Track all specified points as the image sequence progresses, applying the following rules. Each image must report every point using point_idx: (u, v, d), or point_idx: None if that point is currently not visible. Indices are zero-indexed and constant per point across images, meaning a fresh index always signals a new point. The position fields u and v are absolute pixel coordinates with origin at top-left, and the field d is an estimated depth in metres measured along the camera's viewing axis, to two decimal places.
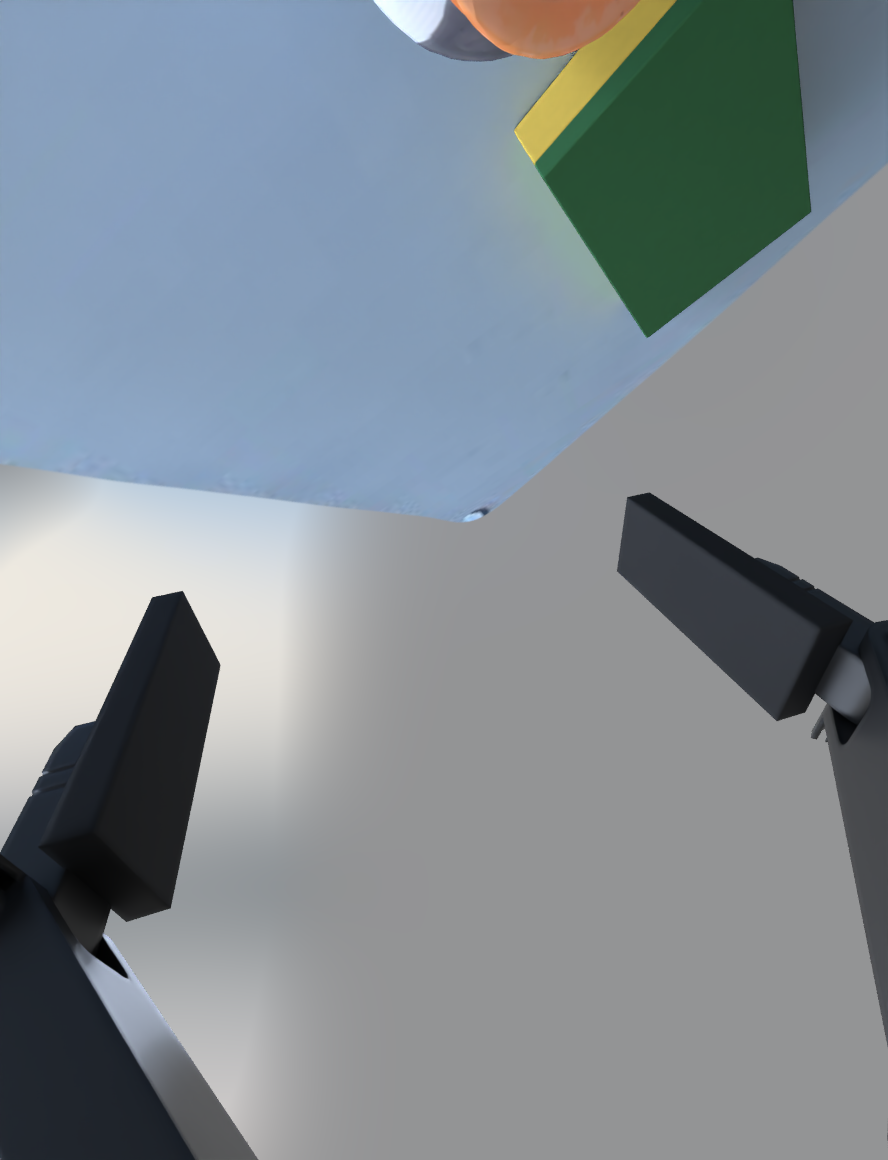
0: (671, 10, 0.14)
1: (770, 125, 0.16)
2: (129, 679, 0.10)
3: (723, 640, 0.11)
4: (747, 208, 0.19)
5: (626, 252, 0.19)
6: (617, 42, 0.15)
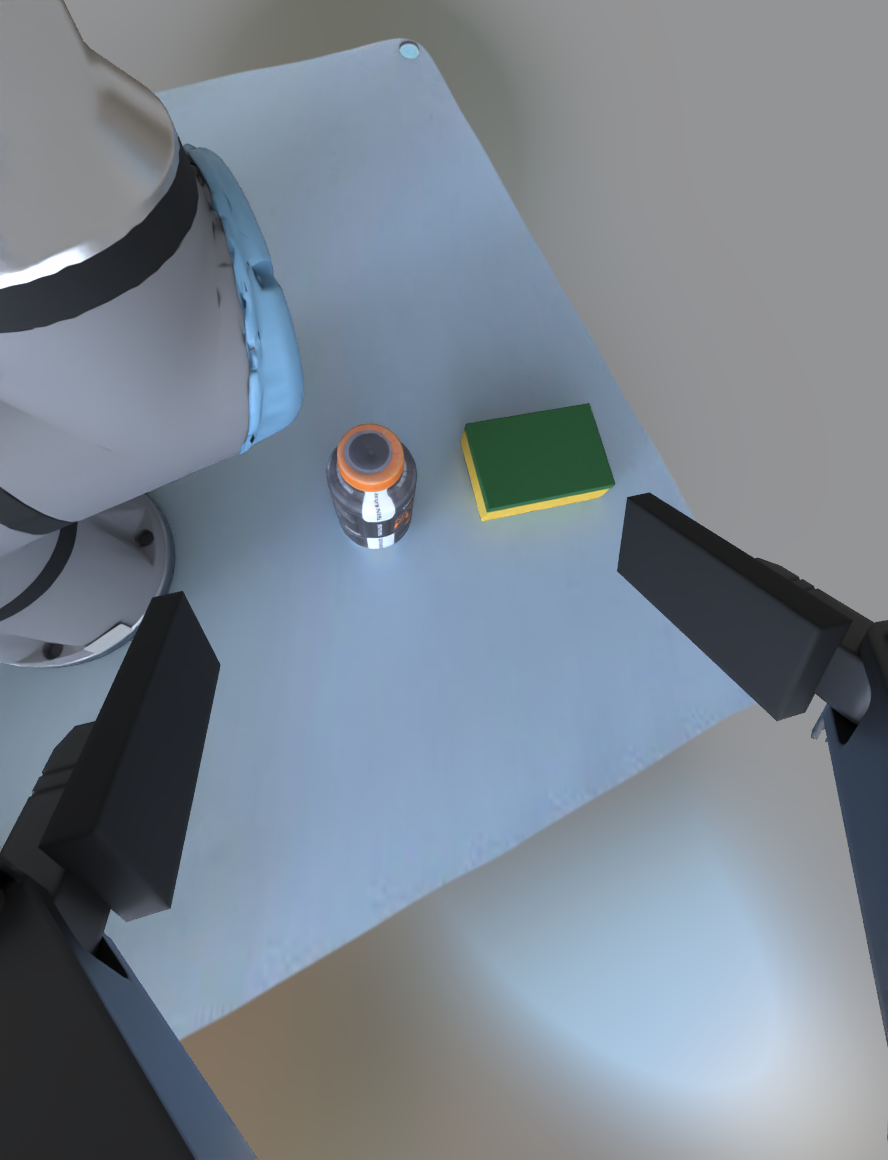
0: (472, 457, 0.38)
1: (531, 423, 0.39)
2: (129, 679, 0.10)
3: (723, 640, 0.12)
4: (565, 431, 0.39)
5: (548, 484, 0.38)
6: (474, 476, 0.39)
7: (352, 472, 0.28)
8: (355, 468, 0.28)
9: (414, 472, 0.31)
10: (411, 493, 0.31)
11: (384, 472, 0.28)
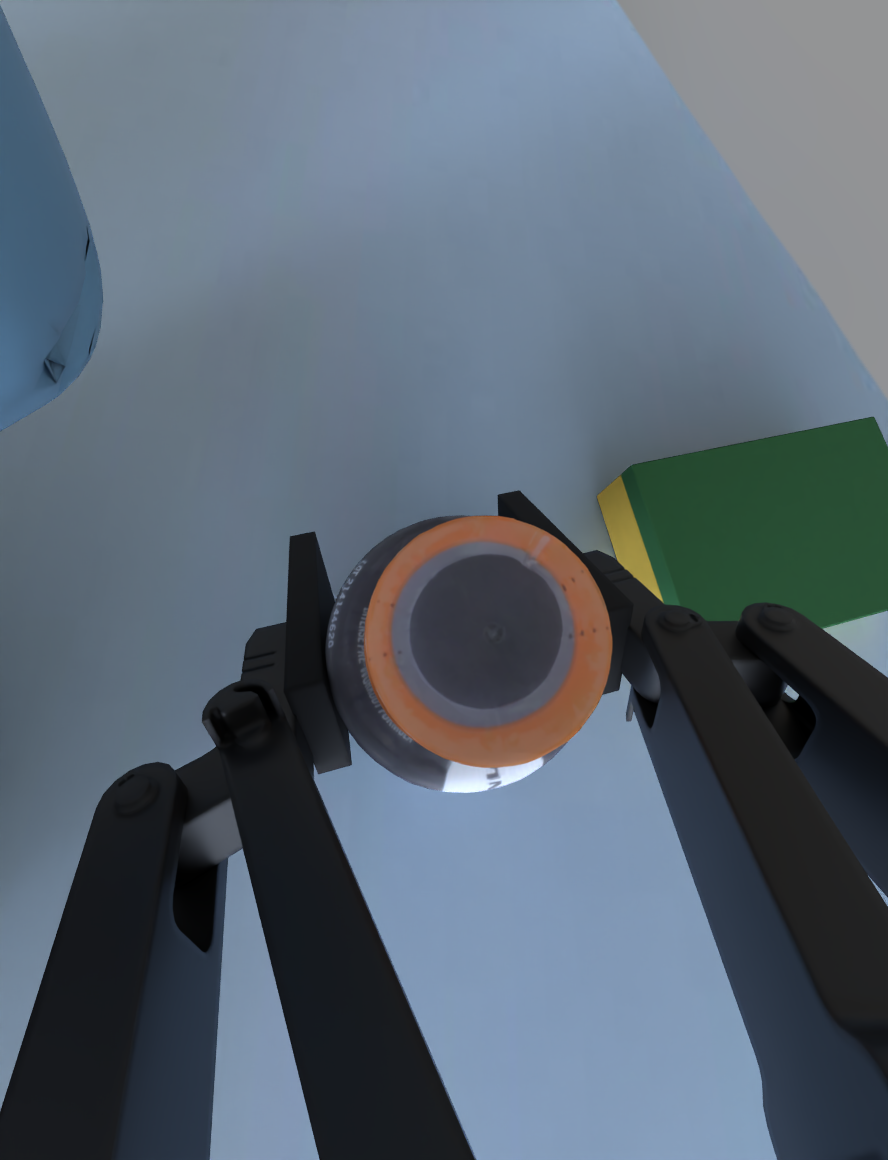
0: (643, 536, 0.18)
1: (766, 462, 0.18)
2: (300, 590, 0.12)
3: None
4: (835, 477, 0.18)
5: (818, 599, 0.17)
6: (640, 574, 0.18)
7: (426, 723, 0.07)
8: (438, 703, 0.07)
9: None
10: None
11: (550, 712, 0.07)
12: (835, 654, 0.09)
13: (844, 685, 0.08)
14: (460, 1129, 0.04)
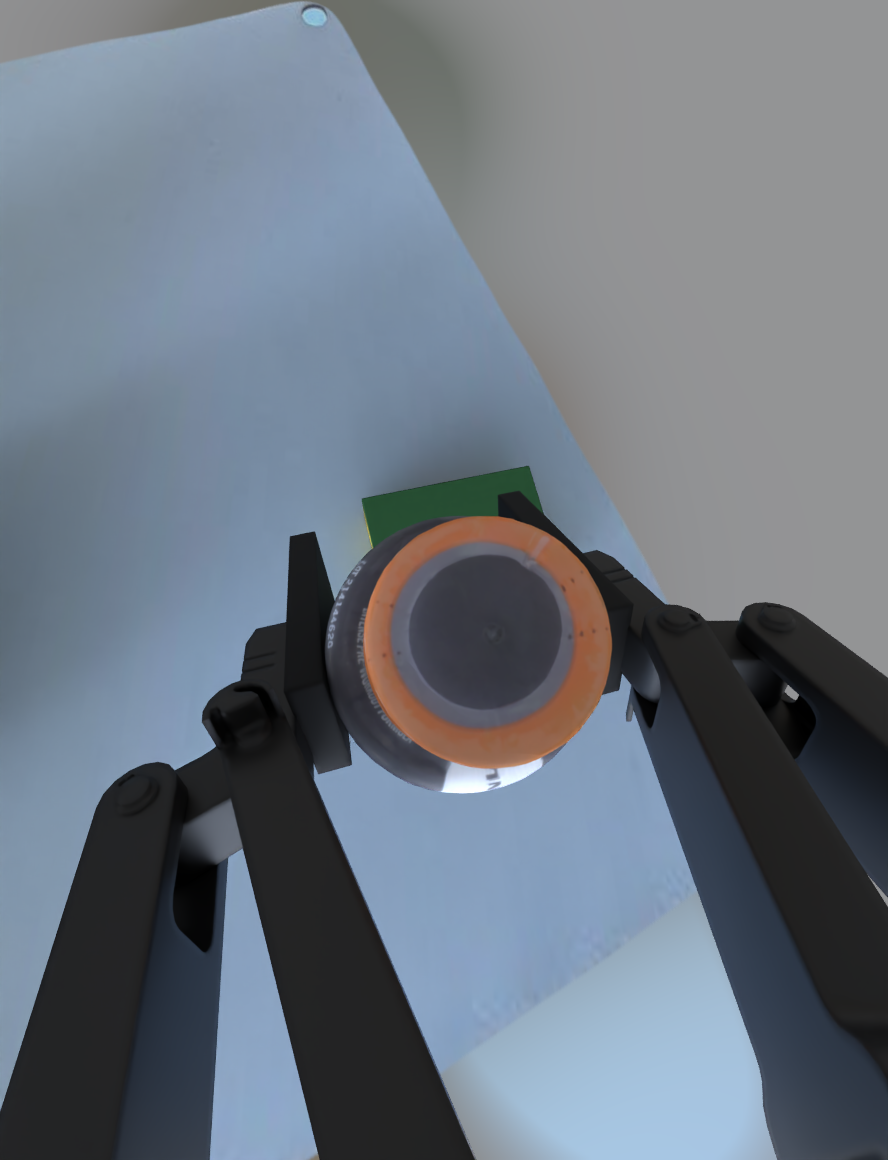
0: (371, 542, 0.29)
1: (450, 496, 0.29)
2: (300, 590, 0.12)
3: None
4: (495, 505, 0.29)
5: None
6: None
7: (426, 724, 0.07)
8: (437, 704, 0.07)
9: None
10: None
11: (549, 712, 0.07)
12: (836, 655, 0.09)
13: (844, 685, 0.08)
14: (460, 1129, 0.04)
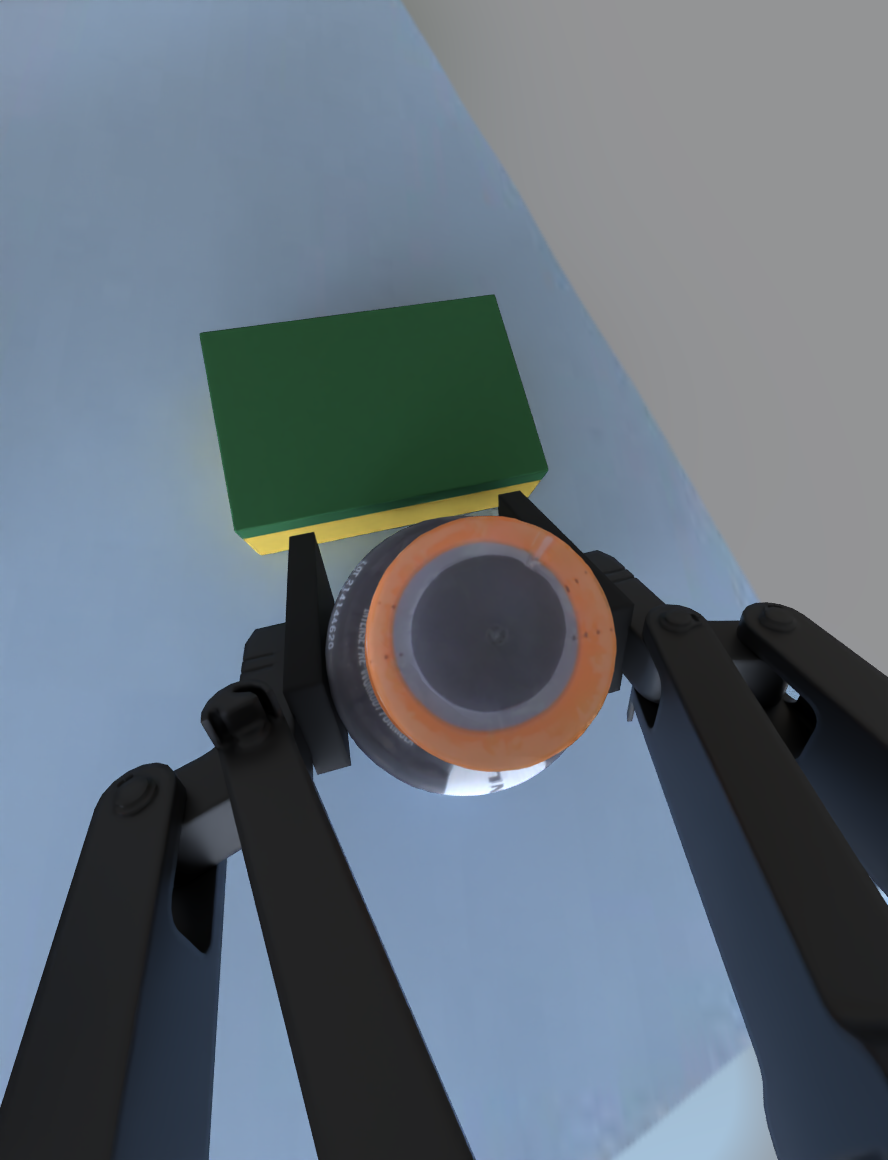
0: None
1: (357, 335, 0.17)
2: (299, 591, 0.12)
3: None
4: (435, 352, 0.17)
5: (388, 472, 0.16)
6: None
7: (429, 727, 0.07)
8: (440, 705, 0.07)
9: None
10: None
11: (553, 714, 0.07)
12: (837, 655, 0.09)
13: (845, 685, 0.08)
14: (459, 1130, 0.04)
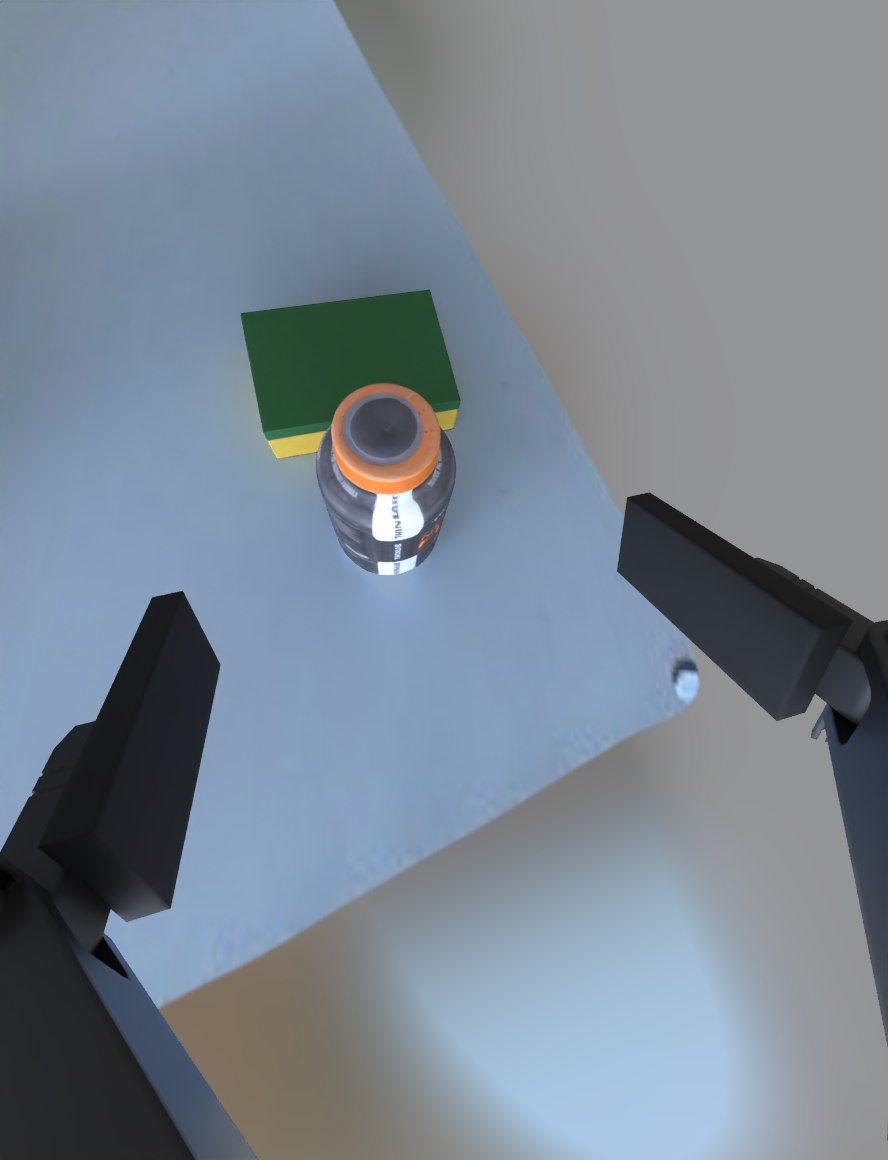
0: None
1: (339, 315, 0.27)
2: (129, 679, 0.10)
3: (723, 640, 0.11)
4: (390, 326, 0.27)
5: None
6: None
7: (356, 461, 0.16)
8: (361, 455, 0.17)
9: (453, 463, 0.20)
10: (448, 496, 0.20)
11: (409, 461, 0.17)
12: None
13: None
14: None
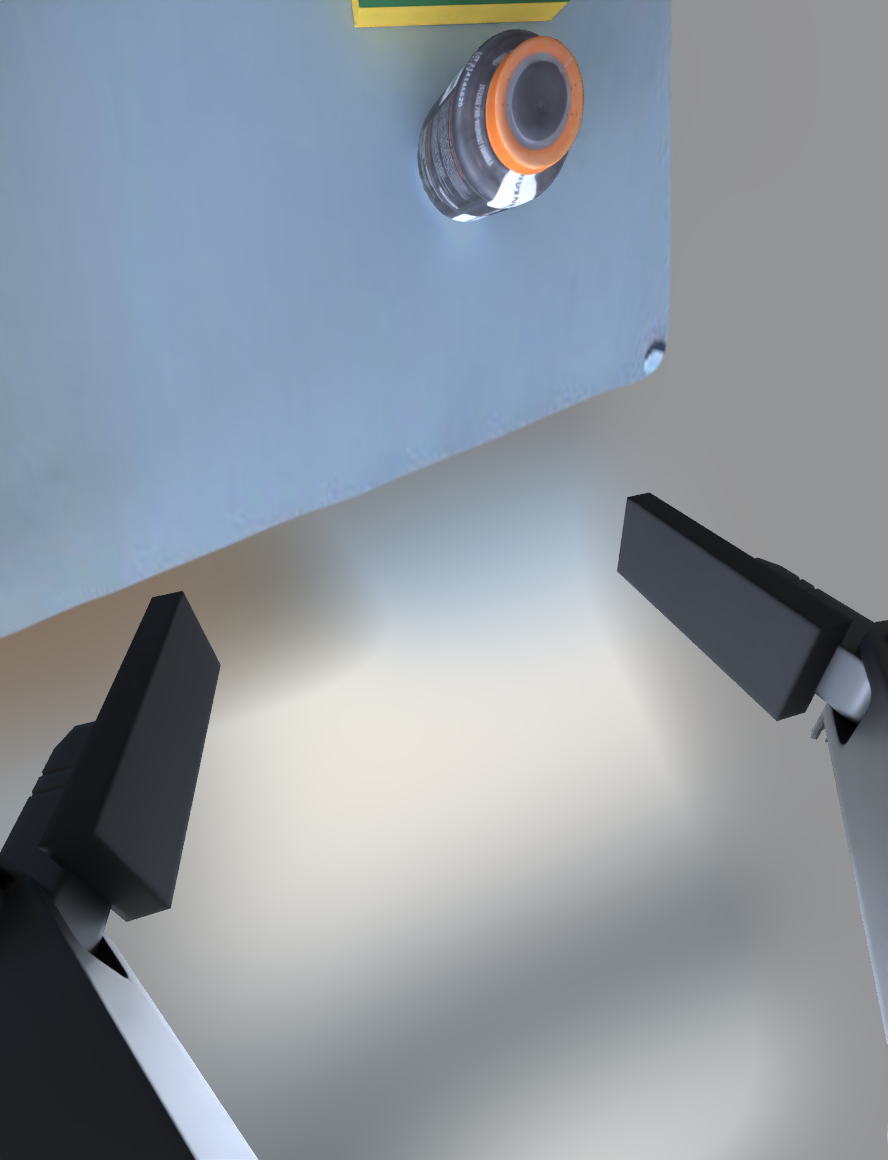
0: None
1: None
2: (129, 679, 0.10)
3: (723, 640, 0.11)
4: None
5: None
6: None
7: (511, 141, 0.20)
8: (516, 133, 0.20)
9: None
10: (557, 173, 0.23)
11: (551, 148, 0.20)
12: None
13: None
14: None
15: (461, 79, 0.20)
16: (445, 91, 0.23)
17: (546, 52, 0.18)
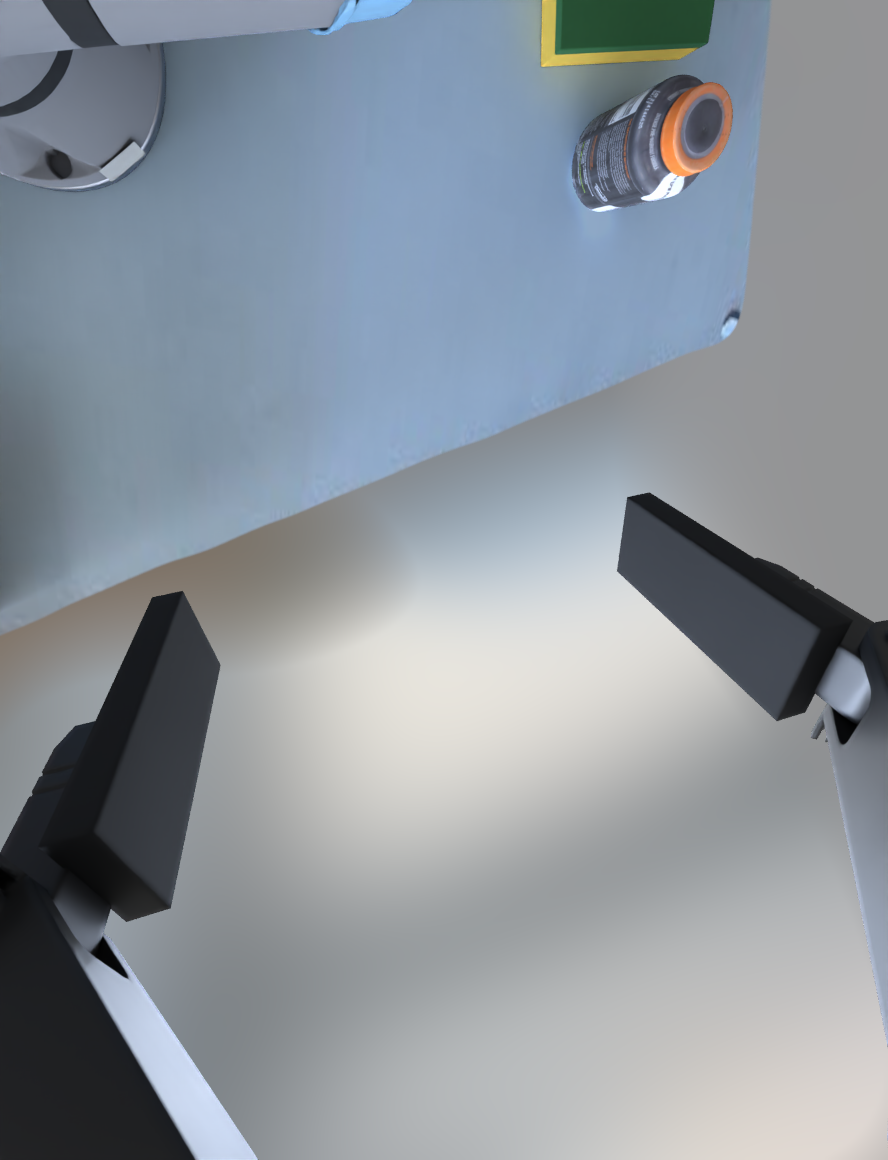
0: None
1: None
2: (129, 679, 0.10)
3: (723, 640, 0.11)
4: None
5: (636, 23, 0.31)
6: None
7: (681, 153, 0.28)
8: (685, 148, 0.28)
9: None
10: None
11: (707, 157, 0.29)
12: None
13: None
14: None
15: (642, 109, 0.29)
16: (614, 115, 0.32)
17: (712, 93, 0.27)
